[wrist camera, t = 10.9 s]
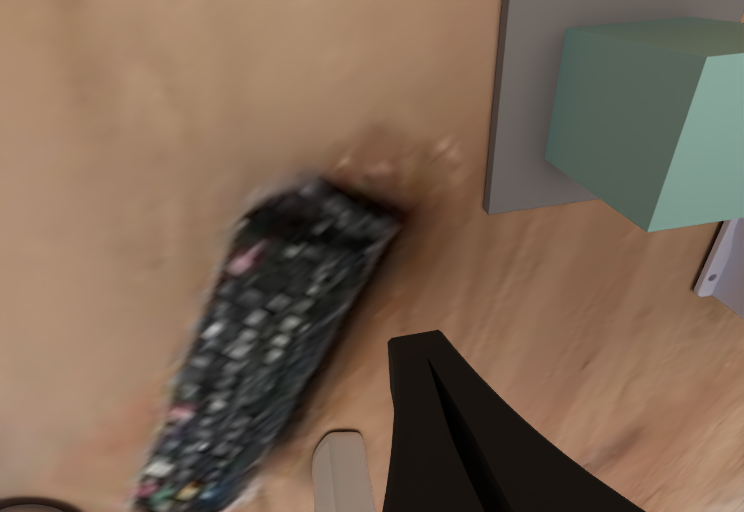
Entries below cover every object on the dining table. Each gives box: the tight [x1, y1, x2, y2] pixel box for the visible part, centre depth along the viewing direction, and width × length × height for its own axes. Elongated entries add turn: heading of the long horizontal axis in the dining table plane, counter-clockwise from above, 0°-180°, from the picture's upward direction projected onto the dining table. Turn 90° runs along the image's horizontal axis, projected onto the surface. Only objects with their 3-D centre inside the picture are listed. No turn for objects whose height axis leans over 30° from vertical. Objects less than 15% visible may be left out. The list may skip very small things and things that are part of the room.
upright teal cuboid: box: [544, 17, 744, 232], centre depth 16 cm, size 5×5×7 cm
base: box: [484, 0, 744, 215], centre depth 19 cm, size 10×10×1 cm
